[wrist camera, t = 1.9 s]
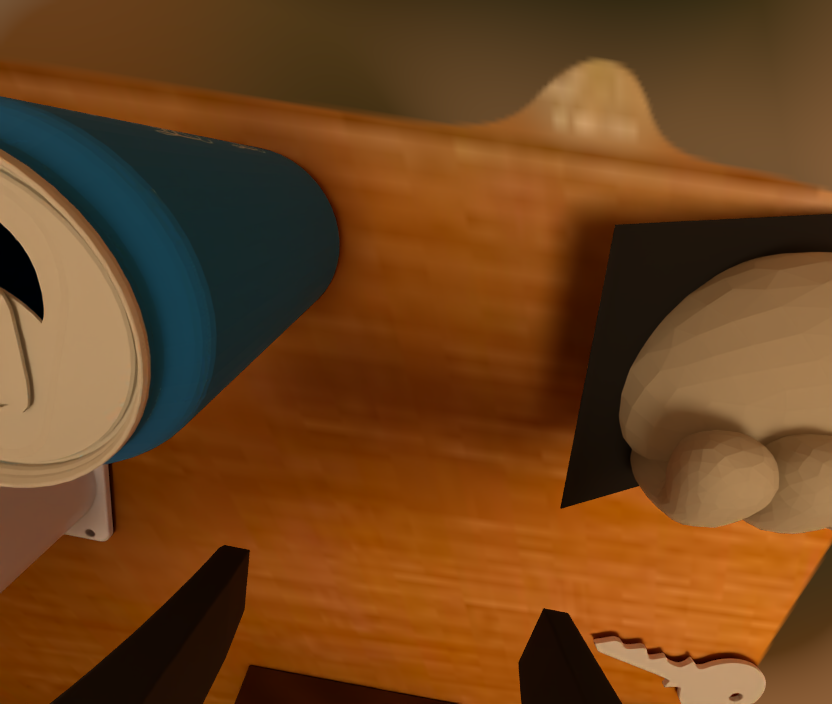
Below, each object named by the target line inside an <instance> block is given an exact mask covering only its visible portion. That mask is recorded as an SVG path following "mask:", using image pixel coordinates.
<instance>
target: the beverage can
mask: <svg viewBox="0 0 832 704" xmlns="http://www.w3.org/2000/svg"><path fill="white" fill-rule="evenodd" d="M338 257H339V232H338V227H337V222H336V218H335V215H334V213H333V210H332V207H331V205H330V203H329V201H328V199H327V197H326V195H325V194H324V193H323V191H322V190H321V188H320V187H319V185H318V184H317V183H316V182H315V180H314V179H313V178H312V177H311V176H310V175H309V174H308V173H307V172H306V171H305V170H304V169H302V168H301V167H300V166H298V165H297V164H296V163H294V162H293V161H291V160H290V159H288V158H286V157H284V156H282V155H280V154H278V153H275V152H272V151H270V150H266V149H262V148H257V147H252V146H247V145H242V144H237V143H232V142H227V141H222V140H217V139H212V138H207V137H202V136H197V135H192V134H187V133H182V132H177V131H172V130H167V129H162V128H157V127H152V126H147V125H142V124H137V123H132V122H126V121H121V120H116V119H111V118H106V117H101V116H96V115H91V114H86V113H81V112H76V111H71V110H66V109H61V108H56V107H51V106H46V105H41V104H36V103H31V102H26V101H21V100H16V99H11V98H6V97H1V96H0V486H2V487H12V488H36V487H44V486H52V485H57V484H61V483H64V482H68V481H72V480H74V479H77V478H79V477H81V476H84V475H86V474H88V473H90V472H91V471H93V470H95V469H96V468H98V467H99V466H101V465H104V464H110V463H114V462H117V461H121V460H125V459H128V458H132V457H135V456H137V455H140V454H142V453H144V452H147V451H149V450H151V449H153V448H155V447H157V446H159V445H160V444H162V443H163V442H165V441H167V440H168V439H170V438H171V437H173V436H174V435H175V434H176V433H177V432H178V431H179V430H181V429H182V428H183V427H184V426H185V425H186V424H187V423H188V422H189V421H190V420H191V419H192V418H193V417H195V416H196V415H197V414H198V413H199V412H200V411H201V410H202V409H203V408H204V407H205V406H206V405H207V404H208V403H209V402H210V401H211V400H212V399H213V398H215V397H216V396H217V395H218V394H219V393H220V392H221V391H222V390H223V389H224V388H225V387H226V386H227V385H228V384H229V383H230V382H231V381H232V380H233V379H234V378H236V377H237V376H238V375H239V374H240V373H241V372H242V371H243V370H244V369H245V368H246V367H247V366H248V365H249V364H250V363H251V362H252V361H253V360H254V359H256V358H257V357H258V356H259V355H260V354H261V353H262V352H263V351H264V350H265V349H266V348H267V347H268V346H269V345H270V344H271V343H272V342H273V341H274V340H276V339H277V338H278V337H279V336H280V335H281V334H282V333H283V332H284V331H285V330H286V329H287V328H288V327H289V326H290V325H291V324H292V323H293V322H294V321H296V320H297V319H298V318H299V317H300V316H301V315H302V314H303V313H304V312H305V311H306V310H307V309H308V308H309V307H310V306H311V305H312V304H313V303H314V302H315V301H317V300H318V299H319V298H320V296H321V295H322V294H323V293H324V292H325V290H326V289H327V287H328V286H329V284H330V282H331V280H332V278H333V276H334V273H335V270H336V267H337V263H338Z"/></svg>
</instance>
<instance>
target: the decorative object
mask: <svg viewBox="0 0 832 704" xmlns="http://www.w3.org/2000/svg"><path fill="white" fill-rule="evenodd" d="M637 486H640V487H641V488H642V490H643V491H644V493H645V494H646V496H647V497H648V498H649V499H650V500H651V501H652V502H653V503H654V504H655V505H656V506H657V507H658V508H659V509H660V510H661V511H663V512H664V513H665V514H666V515H667V516H669V517H670V518H671V519H673V520H675V521H677V522H679V523H681V524H684V525H691V526H698V527H719V526H723V525H727V524H730V523H734V522H737V521H740V520H744V521H746V522H747V523H749V524H751V525H753V526H755V527H757V528H759V529H761V530H766V531H771V532H777V533H790V534H795V533H805V532H808V531H815V530H820V529H824V528H827V529H830V530H832V214H820V215H800V216H780V217H760V218H740V219H719V220H699V221H679V222H659V223H639V224H619V225H615V228H614V233H613V239H612V244H611V249H610V254H609V259H608V265H607V270H606V275H605V280H604V285H603V290H602V296H601V301H600V306H599V311H598V316H597V321H596V327H595V332H594V337H593V342H592V347H591V352H590V358H589V363H588V368H587V373H586V378H585V383H584V389H583V394H582V399H581V404H580V409H579V415H578V420H577V425H576V430H575V435H574V440H573V446H572V451H571V456H570V461H569V466H568V471H567V477H566V482H565V487H564V492H563V497H562V502H561V508H565V507H568V506H572V505H575V504H579V503H582V502H585V501H589V500H592V499H596V498H599V497H603V496H606V495H610V494H613V493H616V492H620V491H623V490H627V489H630V488H634V487H637ZM561 508H560V509H561Z"/></svg>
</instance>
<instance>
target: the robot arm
mask: <svg viewBox="0 0 832 704" xmlns="http://www.w3.org/2000/svg"><path fill="white" fill-rule="evenodd" d="M63 534H66V535H71V536H76V537H81V538H87V539H92V540H97V541H107V540H108V539H109V538H110V537H111V536H112V535H113V521H112V508H111V495H110V482H109V469H108V464H104V465H101V466H99V467H98V468H96V469H95V470H93V471H91V472H90V473H88V474H86V475H84V476H81V477H79V478H77V479H74V480H72V481H68V482H64V483H61V484H57V485H52V486H44V487H36V488H12V487H2V486H0V593H1V592H2V591H3V590H4V589H5V588H7V587H8V586H9V585H10V584H11V583H12V582H13V581H14V580H15V579H16V578H17V577H18V576H19V575H20V574H22V573H23V572H24V571H25V570H26V569H27V568H28V567H29V566H30V565H31V564H32V563H33V562H34V561H35V560H36V559H38V558H39V557H40V556H41V555H42V554H43V553H44V552H45V551H46V550H47V549H48V548H49V547H50V546H51V545H53V544H54V543H55V542H56V541H57V540H58V539H59V538H60V537H61V536H62V535H63ZM249 552H250V550H247V549H242V548H237V547H232V546H227V545H224V546H222V547H220V548H219V549H218V550H217V551H216V552H215V553H214V554H213V555H212V556H211V557H210V558H209V560H208V561H207V562H206V563H205V564H204V565H203V566H202V567H201V568H200V569H199V570H198V571H197V572H196V573H195V574H194V575H193V576H192V577H191V578H190V579H189V580H188V581H187V582H186V583H185V584H184V585H183V586H182V587H181V588H180V589H179V590H178V591H177V592H176V593H175V594H174V595H173V596H172V597H171V598H170V599H169V600H168V601H167V602H166V603H165V604H164V605H163V606H162V607H161V608H160V609H159V610H157V611H156V612H155V613H154V614H153V615H152V616H151V617H150V618H149V619H148V620H147V621H146V622H145V623H144V624H143V625H142V626H141V627H139V628H138V629H137V630H136V631H135V632H134V633H133V634H132V635H131V636H130V637H128V638H127V639H126V640H125V641H124V642H123V643H121V644H120V645H119V646H118V647H117V648H116V649H115V650H113V651H112V652H111V653H110V654H109V655H108V656H107V657H105V658H104V659H103V660H102V661H101V662H100V663H99V664H97V665H96V666H95V667H94V668H93V669H92V670H91V671H89V672H88V673H87V674H86V675H85V676H83V677H82V678H81V679H80V680H79V681H77V682H76V683H75V684H74V685H72V686H71V687H70V688H69V689H68V690H66V691H65V692H64V693H63V694H61V695H60V696H59V697H58V698H56V699H55V700H54V701H53V702H51V703H50V704H203V702H204V700H205V698H206V696H207V694H208V692H209V690H210V688H211V686H212V684H213V682H214V680H215V678H216V676H217V674H218V672H219V670H220V668H221V666H222V664H223V662H224V660H225V658H226V655H227V653H228V650H229V648H230V645H231V643H232V640H233V638H234V635H235V633H236V630H237V627H238V625H239V622H240V620H241V617H242V614H243V612H244V608H245V597H246V586H247V575H248V564H249ZM519 677H520V692H521V703H522V704H622V702H621V701H620V699H619V698H618V696H617V694H616V693H615V691H614V689H613V688H612V686H611V685H610V683H609V681H608V680H607V678H606V676H605V675H604V673H603V671H602V670H601V668H600V666H599V664H598V663H597V661H596V659H595V658H594V656H593V654H592V653H591V651H590V649H589V648H588V646H587V644H586V642H585V641H584V639H583V637H582V636H581V634H580V632H579V631H578V629H577V627H576V626H575V624H574V622H573V621H572V619H571V617H570V616H569V614H568V613H565V612H560V611H555V610H550V609H545V608H544V609H543V611H542V613H541V615H540V617H539V619H538V622H537V624H536V626H535V628H534V630H533V632H532V635H531V637H530V639H529V641H528V643H527V645H526V647H525V650H524V652H523V654H522V656H521V658H520V660H519Z"/></svg>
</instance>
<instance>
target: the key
mask: <svg viewBox="0 0 832 704" xmlns="http://www.w3.org/2000/svg"><path fill="white" fill-rule="evenodd" d="M593 640H594V643H595V646H596V648H597V649H598V651H599V652H601V653H604V654H606V655H609V656H611V657H614V658H616V659H619V660H621V661H624V662H627V663H629V664H631V665H634V666H636V667H639V668H642V669H644V670H647V671H649V672H652V673H654V674H657V675H659V676H662V677H664V678H665V679H664V680H663V681H662V683H663V685H664V687H678V690H677V693H678V697H679V699H680V702H681V704H753V703H754V702H756V701H757V700H758V699H759V697H760V696H761V695H762V694H763V692H764V690H765V686H766V681H765V677H764V676H763V674H762V672H761V671H760V669H759V668H758V667H757V666H756V665H754V664H753V663H751V662H748V661H745V660H741V659H732V658H728V659H718V660H714V661H710V662H707V663H704V664H695V662H694V661H693V660H692V658H691V657H688V658H687V659H686V660H684V661H681V662H674V661H671V660H669V659H667V658H666V656H665V654H664V653H658V654H650V655H649V654H648V653H647V649H646V647H645V645H644V644H642V643H636V644H624V643H622V641H621V639H620V638H618V637H615V636H610V637H604V638H598V639H593ZM735 693H739V694H738V695H737V696H734V697H730V696H731V695H732V694H735Z"/></svg>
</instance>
